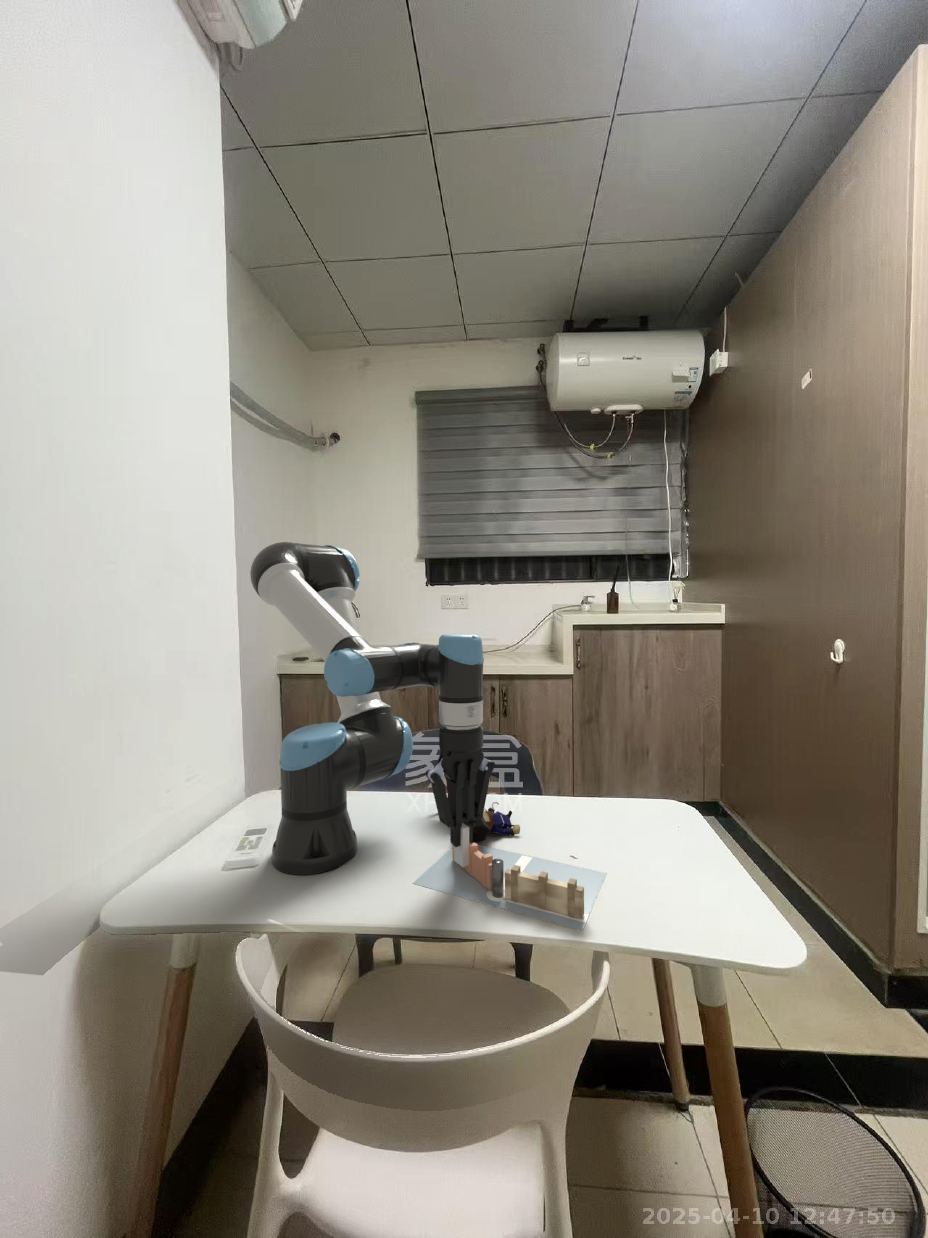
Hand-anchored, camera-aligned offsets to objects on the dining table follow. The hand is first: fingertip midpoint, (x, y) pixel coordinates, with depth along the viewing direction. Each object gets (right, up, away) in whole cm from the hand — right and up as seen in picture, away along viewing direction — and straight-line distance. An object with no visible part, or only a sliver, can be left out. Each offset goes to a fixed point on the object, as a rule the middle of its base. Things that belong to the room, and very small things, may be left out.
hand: (461, 862), depth 86 cm
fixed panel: (+12, -2, -10) cm, 16 cm away
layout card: (+8, -2, -2) cm, 9 cm away
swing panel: (+2, -2, 0) cm, 2 cm away
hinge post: (+6, -2, -7) cm, 9 cm away
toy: (+5, -2, +15) cm, 16 cm away
